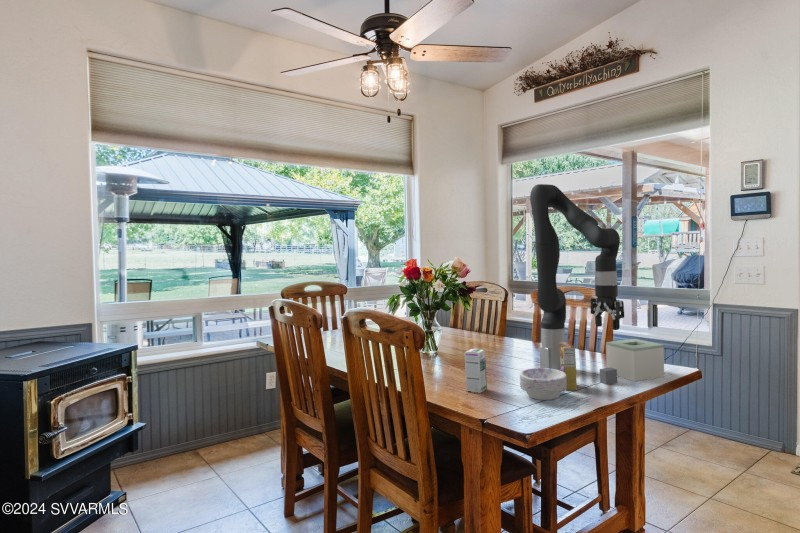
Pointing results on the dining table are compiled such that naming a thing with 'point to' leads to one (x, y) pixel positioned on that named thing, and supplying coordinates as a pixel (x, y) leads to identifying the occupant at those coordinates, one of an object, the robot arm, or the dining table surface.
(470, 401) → the dining table surface
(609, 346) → the box
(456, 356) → the dining table surface
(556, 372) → the marbled stone bowl
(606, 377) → the gray block
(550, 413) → the dining table surface
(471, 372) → the syrup box
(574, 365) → the candy box
